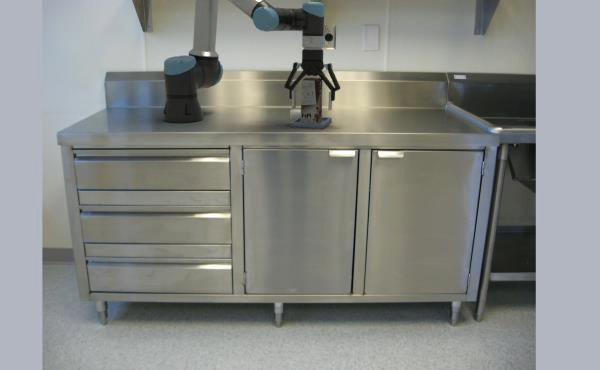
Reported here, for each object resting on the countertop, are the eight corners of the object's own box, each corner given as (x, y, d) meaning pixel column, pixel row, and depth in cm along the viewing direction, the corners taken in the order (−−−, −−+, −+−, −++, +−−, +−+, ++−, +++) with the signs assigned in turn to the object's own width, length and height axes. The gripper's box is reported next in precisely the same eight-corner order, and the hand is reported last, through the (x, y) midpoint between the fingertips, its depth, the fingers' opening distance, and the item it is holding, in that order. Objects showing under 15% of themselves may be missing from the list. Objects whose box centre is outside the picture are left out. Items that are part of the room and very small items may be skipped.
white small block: (288, 120, 193) (288, 111, 192) (292, 117, 198) (292, 108, 197) (303, 121, 192) (303, 111, 190) (307, 118, 197) (307, 109, 196)
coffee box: (317, 125, 179) (318, 80, 174) (300, 125, 180) (300, 79, 175) (322, 121, 187) (323, 77, 182) (305, 120, 189) (306, 77, 184)
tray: (290, 127, 179) (290, 122, 178) (300, 120, 192) (300, 115, 191) (323, 129, 176) (323, 124, 175) (331, 122, 189) (331, 117, 188)
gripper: (275, 48, 175) (276, 108, 182) (345, 50, 169) (343, 112, 176) (282, 47, 182) (282, 105, 189) (349, 49, 176) (347, 109, 182)
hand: (311, 109), depth 182 cm, fingers open, 13 cm apart
